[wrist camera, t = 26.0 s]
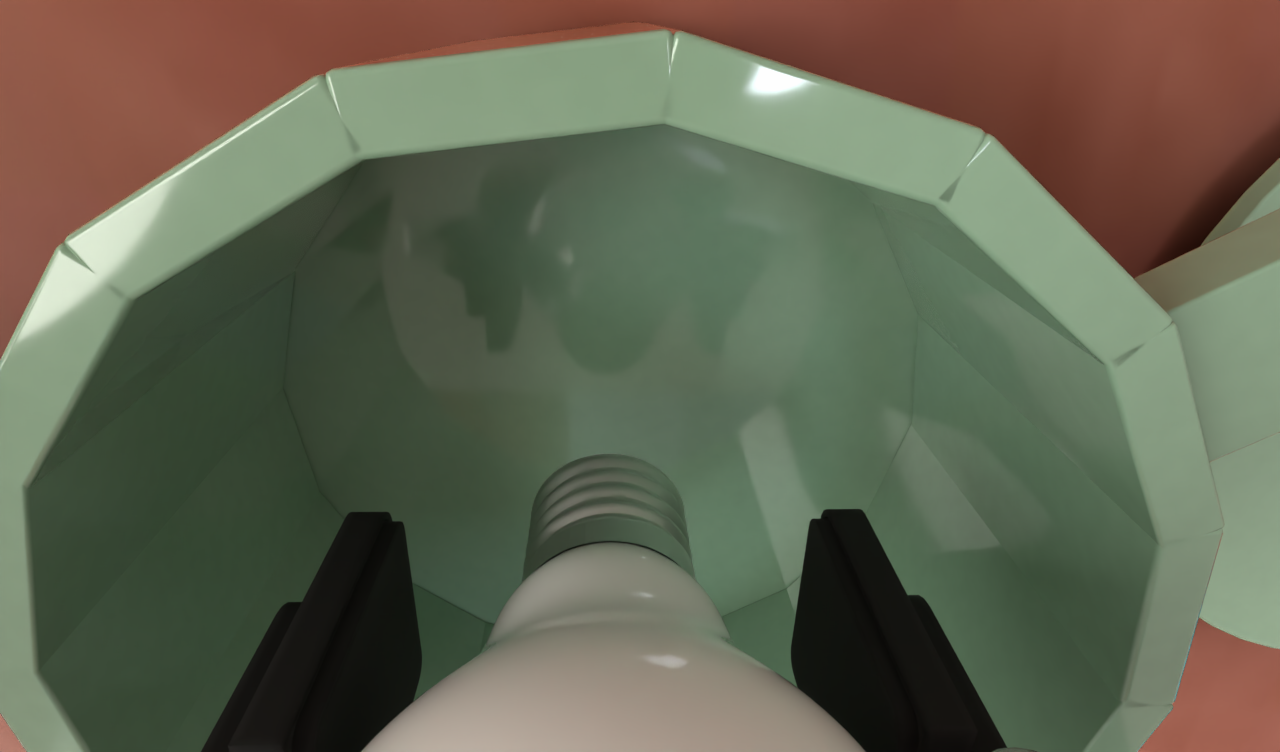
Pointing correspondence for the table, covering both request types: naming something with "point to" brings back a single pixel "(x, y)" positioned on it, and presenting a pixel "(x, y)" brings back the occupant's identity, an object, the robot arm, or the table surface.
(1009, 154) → the pot
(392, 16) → the table surface
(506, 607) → the lightbulb
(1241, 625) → the pot lid
